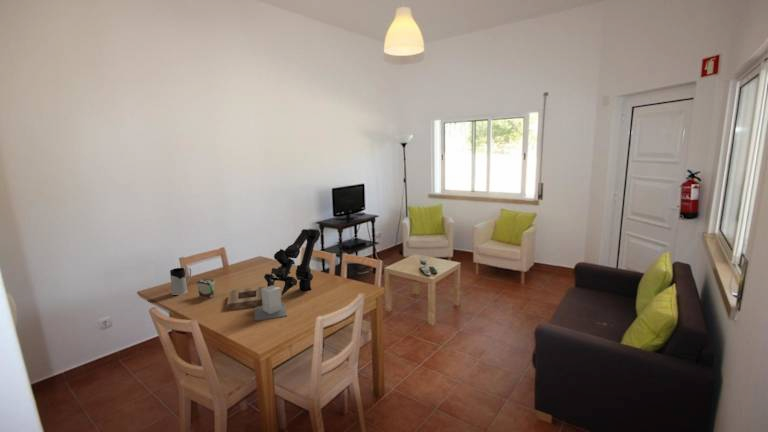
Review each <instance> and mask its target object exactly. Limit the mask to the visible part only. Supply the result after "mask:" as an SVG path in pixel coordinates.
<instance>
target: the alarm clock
mask: <svg viewBox="0 0 768 432" xmlns="http://www.w3.org/2000/svg"><path fill="white" fill-rule="evenodd" d="M196 285H197V291H198V295H199V297H200V298H205V299H208V300H212V299H213V298H214V297H215V289H214V288H215V285H216V282H215V279H214V278H201V279H197V280H196Z"/></svg>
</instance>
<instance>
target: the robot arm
mask: <svg viewBox="0 0 768 432" xmlns="http://www.w3.org/2000/svg"><path fill="white" fill-rule="evenodd" d="M320 236H321V232H320V230H319V229H316V228H315V229H314V228H307V229H306V228H303V229H301V232H300V233H299V234H298V236H297V238H296V239H295V241H294V242H293V243H291V244H290V245H288V246H287V247H286V248H285V249H283V248H282V249H281V248H280V249H279V250H278V251H277V252H275V253H274V255H273V258H274V260H275V261H276V262H277V263H278V264H280V266H279V267H277V268H274V267H272V268H271V272H270V273H265V274H264V276H263V279H265V281H266V282H267V286H266V287H269V286H272V285H274V284H275V282H276V281H277V282H284V286H283V288H282V290H281V296H283V295H284V294H285V293H287V291H289V290H290V289H291V288H292V287H295V286H297V285H298V288H299V291H301V292H305V291H311V290H312V286H311V285H312V284H311V283H312V282H311V281H313V279H314V275H313V274H312V273H311V266H310V263H311V259H312V255H313V251H314V248H315V244H316V243H317V242H318V241H319V239H320ZM305 242H306V244H305ZM304 244H305V248H304V252H303V256H302V260H301V263H300V264H298V265H297V266H296V270H295V277H296V278H295V277H294V276H290V275H289V274H291V273H292V272H291V269H292V266H293V265H295V264H296V263H295V260H294V259H297V258H298V256H299V255H300V253H301V250H300V249H301V248H302V246H303V245H304ZM274 286H275V285H274Z"/></svg>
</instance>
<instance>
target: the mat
mask: <svg viewBox="0 0 768 432" xmlns="http://www.w3.org/2000/svg"><path fill="white" fill-rule="evenodd" d="M281 306H282V310H280V311H277V312H275V313H272V314H269V313H267V312H265V311H263V305H260V306H254V322H258V321H264V320H265V321H266V320H272V319H278V318H284V317H288V315H287V309H286V304H285V302H284V303H282V302H281Z"/></svg>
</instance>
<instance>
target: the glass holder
mask: <svg viewBox="0 0 768 432" xmlns="http://www.w3.org/2000/svg"><path fill="white" fill-rule="evenodd" d="M187 269H188V270H189V277H188V279H186V274H187V273H186V272H187ZM169 273H170V284H171V285H170V286H171V296H172V295H181V294H184V295H186V294H185V293H187V292H188V293H189V291H188V286H187V285H188V283H189V281H190V279H191V276H192V270H191V268H190V267H186V268H184V267H177V268H172V269H171V270H169ZM188 293H187V294H188ZM181 296H182V295H181Z"/></svg>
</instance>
